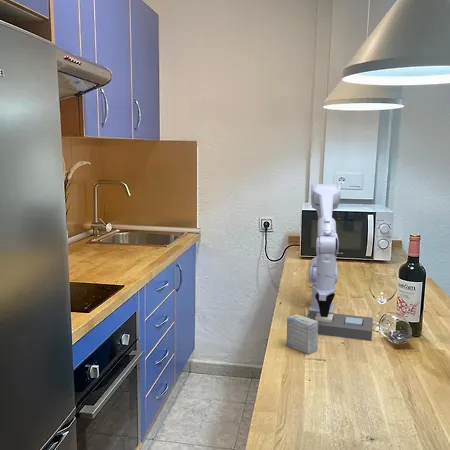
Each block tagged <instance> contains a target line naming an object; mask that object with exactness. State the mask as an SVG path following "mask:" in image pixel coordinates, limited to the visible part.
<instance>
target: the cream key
mask: <svg viewBox="0 0 450 450" xmlns="http://www.w3.org/2000/svg"><path fill="white" fill-rule="evenodd" d="M315 320H316V321H322V322H331V323H332V322H333V314H328V317H321V315H320V313H317V315H316V317H315Z"/></svg>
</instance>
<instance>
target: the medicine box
mask: <svg viewBox="0 0 450 450" xmlns="http://www.w3.org/2000/svg"><path fill="white" fill-rule="evenodd" d="M318 336H319V334H318V321H316V320H313V319H310V318H307V316H304V315H301V314H294V315H290V316H288V317H287V318H286V347H289V346H290V347H289V348H291V347H292V349H294V348H295V350H296V349H297V350H296V351H298V352H302V353H304V354H307V355H310V354H312V353H314V352H316V351H318V340H319V339H318V338H319V337H318Z"/></svg>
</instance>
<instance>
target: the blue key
mask: <svg viewBox="0 0 450 450" xmlns="http://www.w3.org/2000/svg"><path fill="white" fill-rule="evenodd" d="M362 322H363V319H360V318H351V317H346V320H345V324H348V325H356V326H362Z"/></svg>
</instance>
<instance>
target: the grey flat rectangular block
mask: <svg viewBox="0 0 450 450" xmlns="http://www.w3.org/2000/svg"><path fill="white" fill-rule="evenodd" d="M317 313H320V312H317V311H309V310H308V313H307V315H306V317H307V318H310V319H313V320H315V317H316V315H317ZM329 314H333V322H332V323H331V322H322V321H318V335H323V336H330V337H336V338H337V337H339V338H344V339H345V338H347V339H354V340H361V341H370V342H372V338H373V336H372V335H373V324H374V323H373V322H374V317H370V316H361V315H360V316H359V315H353V314H344V313H335V312H332V313H329ZM346 317H351V318H360V319H363V322H362V326H356V325H348V324H345V320H346Z"/></svg>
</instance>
